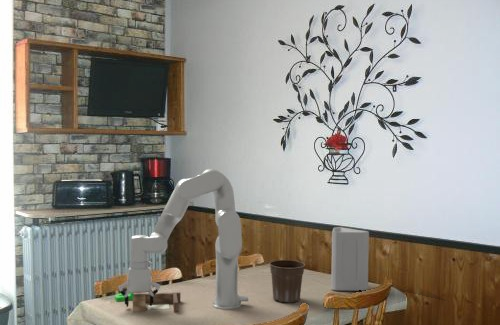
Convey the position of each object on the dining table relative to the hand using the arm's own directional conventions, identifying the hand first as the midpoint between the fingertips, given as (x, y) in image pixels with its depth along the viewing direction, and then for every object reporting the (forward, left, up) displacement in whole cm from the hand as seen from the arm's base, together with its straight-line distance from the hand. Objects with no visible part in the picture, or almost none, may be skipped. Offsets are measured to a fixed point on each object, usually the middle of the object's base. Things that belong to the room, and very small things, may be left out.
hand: (139, 305), depth 228 cm
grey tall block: (-98, -23, -2) cm, 100 cm away
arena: (-10, -1, -1) cm, 10 cm away
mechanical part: (+5, -16, -2) cm, 17 cm away
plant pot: (-65, -6, -2) cm, 65 cm away
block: (0, 0, -2) cm, 2 cm away
